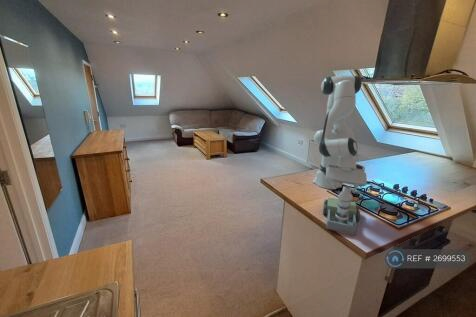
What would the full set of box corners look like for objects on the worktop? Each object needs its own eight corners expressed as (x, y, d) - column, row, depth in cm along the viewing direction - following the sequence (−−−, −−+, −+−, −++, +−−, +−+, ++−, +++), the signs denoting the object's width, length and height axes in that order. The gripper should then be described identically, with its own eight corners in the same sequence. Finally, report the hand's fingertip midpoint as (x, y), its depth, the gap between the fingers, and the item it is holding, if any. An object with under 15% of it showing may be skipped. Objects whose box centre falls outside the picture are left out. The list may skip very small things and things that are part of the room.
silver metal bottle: (332, 224, 111) (338, 187, 104) (335, 217, 116) (341, 182, 109) (346, 228, 107) (353, 191, 101) (348, 221, 113) (355, 186, 106)
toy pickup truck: (323, 205, 129) (325, 196, 127) (356, 211, 123) (358, 202, 121) (321, 227, 109) (323, 217, 107) (360, 236, 103) (363, 225, 101)
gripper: (326, 162, 124) (323, 184, 119) (368, 167, 117) (366, 192, 111) (326, 166, 129) (322, 188, 124) (365, 172, 122) (363, 196, 117)
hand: (343, 190), depth 118 cm, fingers open, 8 cm apart
